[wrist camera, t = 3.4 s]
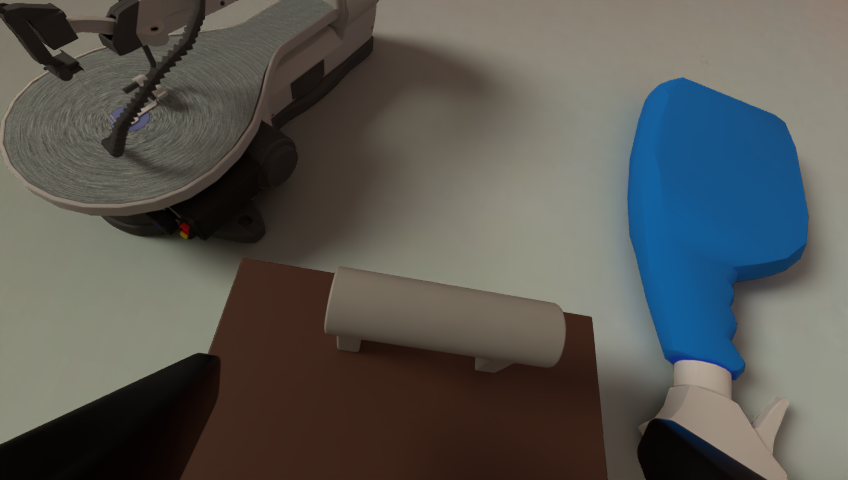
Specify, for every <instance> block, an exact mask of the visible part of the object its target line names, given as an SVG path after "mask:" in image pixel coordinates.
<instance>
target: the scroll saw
mask: <svg viewBox="0 0 848 480" xmlns="http://www.w3.org/2000/svg"><path fill="white" fill-rule="evenodd" d="M235 1H237V0H119V2H118V3H116V4H115V5H113V6H112V7H111V8H110V9H109V12H108V13H107V15H106V17H98V16H66V15H65V13H64V12H63V11H62V10H60V9H59V8H57V7H56V6H54V5H53V4H51V3H48V4H24V3H14V4H10V5H9V4H6V3H0V18H2V20H3V21H4V23H5V24H6V25H7V27H8V28H9V29H10V30H11V31H12V32H13V33H14V34H15V36H16V37H17V38H18V40H19V42H20V43H21V44H22V46H23V47H24V48H25V49H26V51H27V52H28V53H29V54H30V56H31V57H32V58H33V59H34V60H35V61H37V62H38V63H40V64H43V65H45V66H46V67H44V70H47V69H48V71H46V72H45V73H43V74H42V75H40V76H38V77H37V78H35V79H34V80H32V81H31V82H30V83H29V84H28V85H27V86H26V87H25V88H24V89H23V90H22V91H21V92H20V93H19V94H18V95H17V96H16V97H15V98H14V99H13V100H12V102H11V104H10V105H9V107H8V109H7V111H6V113H5V115H4V117H3V119H2V121H1V128H0V150H1V152H2V155H3V158H4V160H5V163H6V166H7V168H8V169H9V170H10V171H11V172H12V173H13V174H14V175H15V176H16V177H17V178H18V179H19V181H20V182H21V183H22V184H23V185H24V186H25V187H26V188H28V189H29V190H30V191H31V192H32V193H34V194H35V195H37V196H39V197H41V198H42V199H44V200H46V201H48V202H50V203H52V204H54V205H56V206H58V207H60V208H63V209H67V210H71V211H75V212H80V213H84V214H88V215H98V216H102V217H103V218H104V219H105V220H106V221H107V222H108V223H110V224H111V225H113V226H114V227H116V228H118V229H120V230H122V231H125V232H127V233H129V234H135V235H141V236H146V235H155V234H161V233H165V234H167V235H172V234H173V233H174V232H175V231H178V230H179V233H180V235H181V236H182V237H183V238H185V239H193V238H194V237H196V236H198V237H199V238H200V239H202V240H204V241H205V240H207V237H208V238H209V237H210V236H214V237H219V238H223V239H227V240H232V241H237V242H244V243H254V242H257V241H258V240H260V239H261V238H262V237H263V236H264V234H265V225H264V222H263V219H262V216H261V213H260V211H259V210H258V208H257V207H256V205H255V204H254V203H253V202H252V200H251V199H253V198H254V197H255V196H256V195H257V194H258V193H259V192H260V191H261V189H260V187H261V186H262V187H270V186H278V185H280V184H282V183H283V182H285V181H286V180H287V179H288V178H289V177H290V175H291V174H292V173H293V171H294V169H295V167H296V165H297V161H298V154H297V152H296V146H295V144H294V142H293V141H292V140H291V139H290V138H289V137H287V136H286V135H284V134H283V133H281V132H280V131H278V129H279V128H280V127H281V126H282V125H284V124H285V123H286V122H287V121H289V120H290V119H292V118H294V117H295V116H297V115H299V114H300V113H302V112H303V111H305V110H306V109H308V108H309V107H311V106H312V105H314V104H315V103H316V102H318V101H319V100H320V99H322V98H323V97H324V96H325V95H326V94H327V93H328V92H330V91H331V90H332V89H333V88H334V87H335V86H336V85H337V84H338V83H339V81H340V80H341V79H342V78H343V77H344V76H345V75H346V74H347V73H348V72H349V71H350V70H351V69H353V68H354V67H355V66H356V65H357V64H359V63H360V62H361V61H362V60H363V59H365V58H366V57H367V56H368V55H369V54H370V53H371V51H372V50H373V36H372V32H373V27H374V22H375V16H376V4H377V2H378V1H379V0H280V1H278V2H277V3H275V4H273V5H272V6H270V7H268V8H267V9H265V10H263V11H262V12H260V13H258V14H257V15H255V16H253V17H252V18H250V19H248V20H247V21H245V22H243V23H240V24H237V25H233V26H229V27H224V28H217V29H211V30H204V31H200V26H202V25H203V20H204V19H205V16H207V15H209V14H211V13H213V12H215V11H217V10H220V9H222V8H224V7H226V6H228V5H229V4H231V3H233V2H235ZM185 25H187V27H185V28H184V31H185V32H183V33H174V34H169V33H171V32H173V31H175V30H177V29H179V28H181V27H183V26H185ZM30 26H31V27H30ZM33 30H34V31H33ZM79 32H92V33H99V38H100V40H101V42H102V44H103V45H104V47H101V48H97V49H94V50H90V51H88V52H86V53H83V54H81V55H79V56H76V57H74V58H72V57H71V56H70V55H68V54H67V53H65V52H64V51H62V50H61V49H60V51H61V52H62V53H60V54H58V55H56V56H54V57H52V55H51V54H50V52H49V51H48V50H47V48H46V47H45V46H44V44H46V45H47V46H49V47H50V48H52V49H53V50H56V49H58V48H60V47H62V46H64V45H66V44H68V43H70V42H72V41H74V40H76V39H78V37H77V35H76V33H79ZM38 37H39V38H38ZM41 41H42V42H43V43H44V44H43V43H42V42H41ZM259 186H260V187H259Z"/></svg>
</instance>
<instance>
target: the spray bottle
mask: <svg viewBox="0 0 848 480" xmlns="http://www.w3.org/2000/svg"><path fill="white" fill-rule="evenodd" d="M628 215H629V232H630V238H631V241H632V244H633V248H634V251H635V254H636V258H637V262H638V267H639V271H640V275H641V279H642V283H643V287H644V292H645V296H646V300H647V303H648V306H649V309H650V313H651V316H652V319H653V322H654V325H655V328H656V331H657V335H658V338H659V341H660V344H661V347H662V350H663V353H664V357H665V359H667V360H668V361H670V362H671V363H673V364H674V387H671V388H669V390H668V394H667V397H666V400H665V403H664V406H663V407H662V409H661V410H660V411H659V413H658V414H657V415H656V417H655V418H661V419H668V420H672V421H675V422H676V423H678V424H680V425H681V426H683V427H684V428H686V429H688V430H689V431H691V432H692V433H694V434H695V435H697V436H699V437H700V438H702V439H703V440H705V441H707V442H708V443H710V444H711V445H713V446H714V447H716V448H718V449H719V450H721V451H722V452H724V453H726V454H727V455H729V456H730V457H732V458H734V459H735V460H737V461H738V462H740V463H741V464H743V465H745V466H746V467H748V468H749V469H751V470H753V471H754V472H756V473H757V474H759V475H761V476H762V477H764V478H765V479H767V480H788V478H787V475H786V473H785V471H784V470H783V469H782V467H781V466H780V465H779V464H778V462H777V461H776V460H775V458H774V457H773V456H772V453H773V445H774V439H775V436H776V434H777V431H778V429H779V426H780V424H781V421H782V419H783V416H784V414H785V411H786V409H787V406H788V404H789V402H788V401H787V400H786V399H785V397H781V398H776V399H775V400H774V401H773V402H772V403H771V404H769V405H768V406H767V407H766V408H765V409H764V410H763V412H762V413H761V414H760V415H759V416H758V417H757V419H756V420H755V421H754V422H753V423H752V425H751V424H750V422H749V421H748V419H747V417H746V416H745V414H744V413H743V411H742V409H741V408H740V406H739V405H738V403H736V402H734V401H732V400H731V380H736V379H737V378H738V377H739V376H740V375H741V374H742V373H743V372H744V368H745V362H744V361H743V359H742V358H741V356H740V354H739V353H738V351H737V350H736V348H735V346H734V345H733V343H732V339H733V337H734V334H735V332H736V328H737V322H736V320H735V317H734V315H733V312H732V310H731V305H732V304H733V302H734V293H735V292H734V290H733V288H732V286H733V284H734V283H735V282H738V281H744V280H751V279H757V278H762V277H766V276H770V275H773V274H776V273H779V272H782V271H785V270H786V269H788V268H789V267H790V266H791V265H793V264H794V263H795V262H796V261H798V260H799V259H800V258H801V256H802V253H803V251H804V249H805V247H806V244H807V230H808V210H807V205H806V200H805V194H804V189H803V184H802V178H801V173H800V168H799V162H798V157H797V152H796V147H795V145H794V142H793V140H792V138H791V135H790V133H789V131H788V128H787V126H786V124H785V122H784V121H782V120H781V119H780V118H778V117H777V116H776V115H774V114H771V113H769V112H767V111H764V110H762V109H759V108H757V107H754V106H752V105H749V104H747V103H744V102H742V101H739V100H737V99H735V98H732V97H730V96H727V95H725V94H722V93H720V92H717V91H715V90H712V89H710V88H708V87H705V86H703V85H700V84H698V83H695V82H693V81H690V80H688V79H685V78H678V79H674V80H670V81H667V82H665V83H662V84H660V85H658V86H657V87H656V88H655V89H654V90H653V91H652V92H651V93H650V94H649V95H648V97H647V99H646V100H645V103H644V106H643V109H642V112H641V115H640V118H639V121H638V125H637V130H636V134H635V139H634V143H633V148H632V152H631V157H630V165H629V182H628ZM653 419H654V418H653ZM651 420H652V419H651ZM651 420H649V421H651ZM649 421H647V422H645V423H643V424H641V425H639V427H638V430H639V431H640V432H641V433H642V434H644V432H645V430H646V427H647V425H648V423H649Z"/></svg>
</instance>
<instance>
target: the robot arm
mask: <svg viewBox="0 0 848 480" xmlns="http://www.w3.org/2000/svg"><path fill="white" fill-rule="evenodd" d="M220 371H221V360H220V358H219V356H217V355H210V354H203V353H196V354H194V355H192V356H189V357H187V358H185V359H183V360H181V361H179V362H177V363H174V364H172V365H170V366H168V367H166V368H164V369H161V370H159V371H157V372H155V373H153V374H151V375H149V376H146V377H144V378H142V379H140V380H138V381H136V382H134V383H131V384H129V385H127V386H125V387H123V388H121V389H118V390H116V391H114V392H112V393H110V394H108V395H106V396H103V397H101V398H99V399H97V400H95V401H93V402H91V403H88V404H86V405H84V406H82V407H80V408H78V409H76V410H73V411H71V412H69V413H67V414H65V415H63V416H60V417H58V418H56V419H54V420H52V421H50V422H48V423H45V424H43V425H41V426H39V427H37V428H35V429H33V430H30V431H28V432H26V433H24V434H22V435H20V436H17V437H15V438H13V439H11V440H9V441H7V442H5V443H2V444H0V480H180V478H181V476H182V474H183V472H184V470H185V468H186V466H187V464H188V462H189V460H190V458H191V455H192V453H193V451H194V449H195V447H196V445H197V443H198V441H199V439H200V436H201V434H202V432H203V430H204V428H205V426H206V424H207V422H208V419H209V417H210V415H211V413H212V411H213V409H214V407H215V404H216V402H217V399H218V395H219V386H220ZM637 456H638V460H639V463H640V466H641V468H642V471H643V473H644V476H645V478H646V480H767V479H765V478H764V477H762V476H761V475H759V474H757V473H756V472H754V471H753V470H751V469H749V468H748V467H746V466H745V465H743V464H741V463H740V462H738V461H737V460H735V459H734V458H732V457H730V456H729V455H727V454H726V453H724V452H722V451H721V450H719V449H718V448H716V447H714V446H713V445H711V444H710V443H708V442H707V441H705V440H703V439H702V438H700V437H699V436H697V435H695V434H694V433H692V432H691V431H689V430H688V429H686V428H684V427H683V426H681V425H680V424H678V423H676V422H675V421H672V420H668V419H661V418H654V419H652V420H651V421H649V423H648V425H647V427H646V430H645V432H644V434H643V436H642V439H641V441H640V443H639V445H638V449H637Z"/></svg>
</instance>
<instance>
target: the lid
mask: <svg viewBox="0 0 848 480" xmlns="http://www.w3.org/2000/svg"><path fill="white" fill-rule="evenodd" d="M208 354H210V355H217V356H219V358H220V360H221V371H220V386H219V395H218V399H217V402H216V404H215V407H214V409H213V411H212V413H211V415H210V417H209V419H208V422H207V424H206V426H205V428H204V430H203V432H202V434H201V436H200V439H199V441H198V443H197V445H196V447H195V449H194V451H193V453H192V455H191V458H190V460H189V462H188V464H187V466H186V468H185V470H184V472H183V474H182V476H181V478H180V480H608V479H607V468H606V458H605V448H604V437H603V427H602V416H601V406H600V396H599V385H598V375H597V364H596V354H595V344H594V333H593V323H592V317H590V316H584V315H578V314H572V313H566V312H563V311H562V309H561V308H560V307H559V306H558V305H557V304H555V303H551V302H545V301H539V300H534V299H528V298H522V297H516V296H510V295H504V294H499V293H493V292H487V291H481V290H475V289H469V288H464V287H458V286H452V285H446V284H440V283H434V282H429V281H423V280H417V279H411V278H405V277H400V276H394V275H388V274H382V273H376V272H370V271H365V270H359V269H353V268H347V267H341V266H340V267H338V268H337V270H336V272H335V273H330V272H324V271H318V270H312V269H306V268H300V267H294V266H289V265H283V264H277V263H271V262H265V261H259V260H253V259H247V258H242V261H241V263H240V266H239V269H238V272H237V274H236V277H235V280H234V283H233V285H232V288H231V291H230V294H229V297H228V299H227V302H226V305H225V308H224V310H223V313H222V316H221V319H220V321H219V324H218V327H217V330H216V333H215V335H214V338H213V341H212V344H211V346H210V349H209V352H208Z"/></svg>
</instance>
